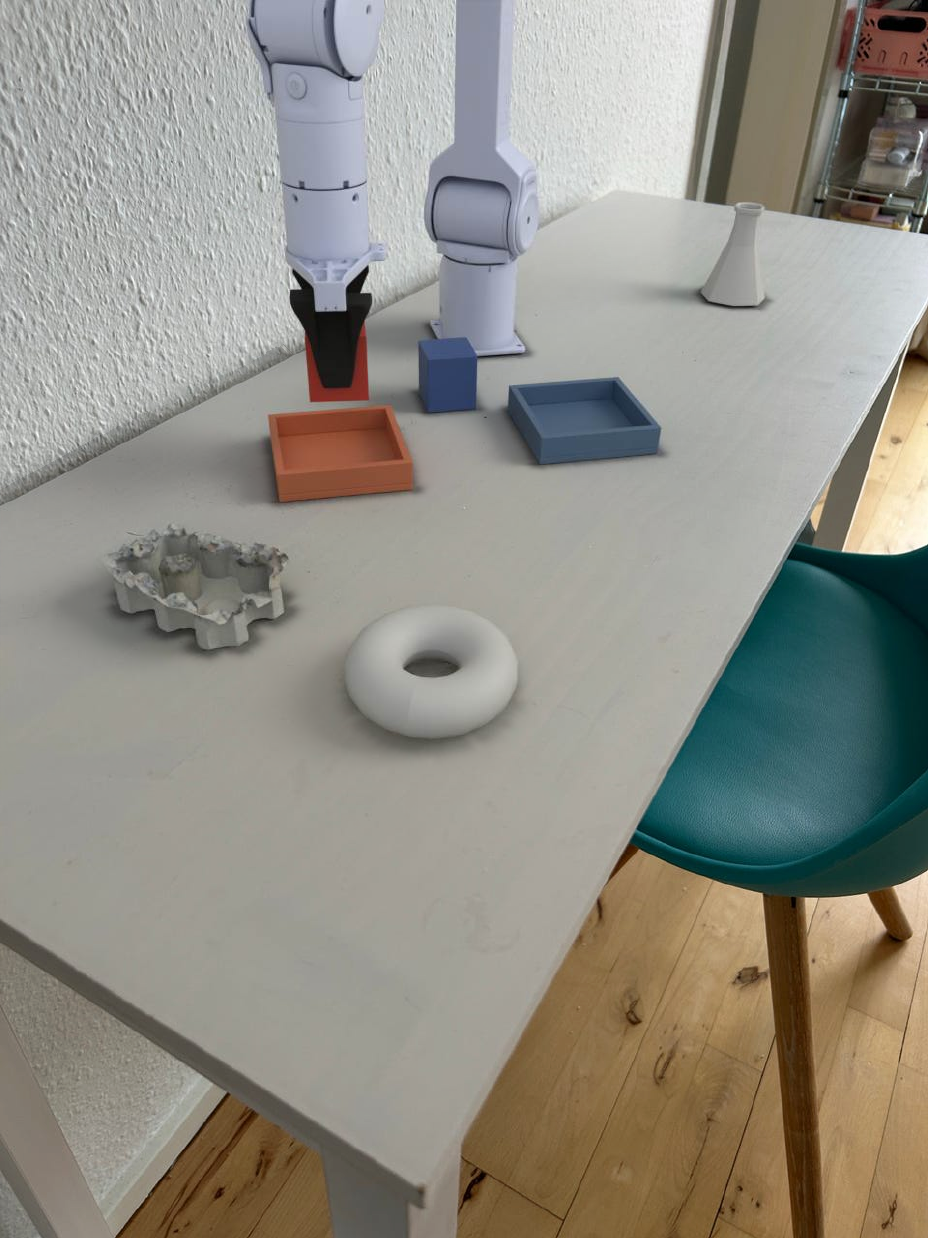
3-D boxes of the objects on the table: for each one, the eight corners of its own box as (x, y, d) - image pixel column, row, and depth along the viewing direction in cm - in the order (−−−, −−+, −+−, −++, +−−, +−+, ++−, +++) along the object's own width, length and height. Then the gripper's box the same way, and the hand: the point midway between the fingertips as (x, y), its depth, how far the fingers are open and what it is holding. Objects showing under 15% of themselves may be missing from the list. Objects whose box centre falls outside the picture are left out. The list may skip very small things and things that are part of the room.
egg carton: (302, 606, 62) (297, 553, 59) (216, 667, 57) (206, 613, 54) (189, 550, 66) (179, 499, 64) (100, 602, 61) (86, 549, 59)
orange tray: (270, 440, 80) (267, 414, 78) (391, 430, 81) (390, 404, 80) (279, 502, 72) (276, 474, 70) (412, 489, 74) (412, 462, 72)
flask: (765, 311, 106) (786, 217, 100) (699, 305, 107) (716, 211, 101) (762, 289, 112) (782, 199, 106) (700, 284, 113) (715, 194, 107)
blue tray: (507, 410, 85) (508, 385, 84) (615, 401, 87) (618, 376, 85) (539, 464, 77) (541, 437, 76) (657, 453, 79) (661, 427, 78)
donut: (505, 635, 60) (345, 638, 59) (509, 590, 58) (343, 593, 57) (527, 749, 52) (343, 755, 51) (532, 703, 50) (340, 708, 49)
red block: (310, 378, 74) (305, 315, 71) (367, 376, 75) (364, 313, 72) (310, 402, 71) (304, 337, 68) (369, 400, 71) (366, 335, 68)
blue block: (418, 392, 88) (418, 339, 85) (465, 388, 88) (466, 336, 85) (427, 413, 84) (427, 359, 81) (476, 409, 85) (477, 355, 82)
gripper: (389, 208, 58) (395, 412, 67) (379, 155, 70) (384, 335, 78) (273, 209, 58) (293, 416, 66) (282, 155, 69) (298, 337, 77)
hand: (336, 372), depth 72 cm, fingers closed on red block, 4 cm apart
